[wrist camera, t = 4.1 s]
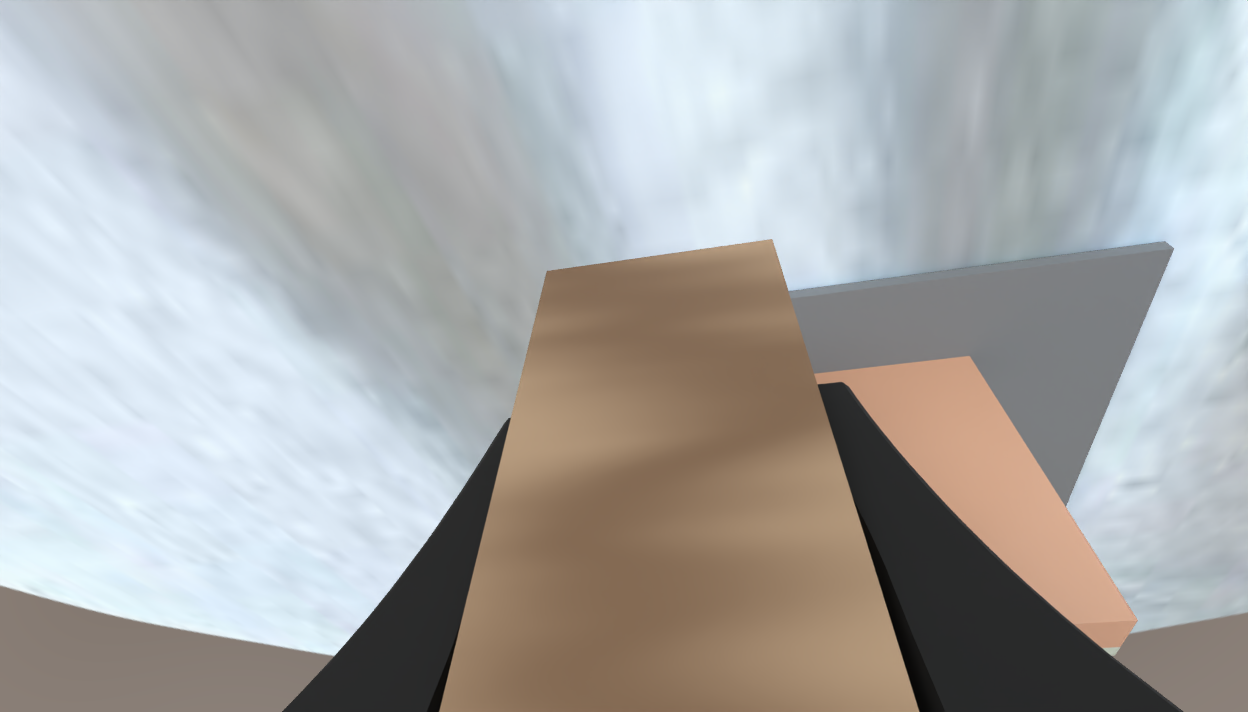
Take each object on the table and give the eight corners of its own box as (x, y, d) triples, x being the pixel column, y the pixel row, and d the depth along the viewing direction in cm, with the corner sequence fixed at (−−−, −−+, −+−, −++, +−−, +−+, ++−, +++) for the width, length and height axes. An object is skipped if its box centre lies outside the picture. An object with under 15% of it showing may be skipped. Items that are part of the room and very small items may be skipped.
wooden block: (772, 239, 11) (1001, 974, 4) (778, 406, 13) (921, 1034, 6) (546, 271, 11) (379, 960, 4) (593, 425, 14) (534, 1023, 7)
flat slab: (969, 356, 20) (1137, 620, 13) (962, 391, 21) (1114, 655, 14) (782, 377, 21) (849, 637, 14) (783, 410, 22) (846, 669, 15)
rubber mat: (1165, 241, 18) (1173, 248, 18) (1037, 555, 28) (1041, 563, 28) (621, 313, 20) (620, 320, 20) (681, 581, 30) (682, 589, 30)
